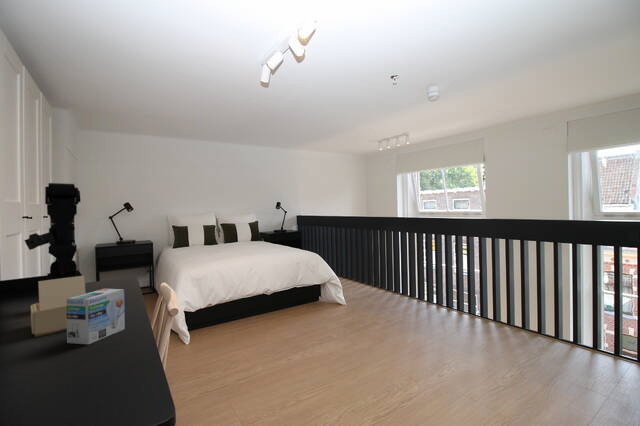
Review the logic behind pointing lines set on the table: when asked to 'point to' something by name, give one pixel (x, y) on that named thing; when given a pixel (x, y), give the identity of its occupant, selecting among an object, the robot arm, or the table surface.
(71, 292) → the far flap
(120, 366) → the table surface
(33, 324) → the carton
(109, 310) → the light bulb box
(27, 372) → the table surface
